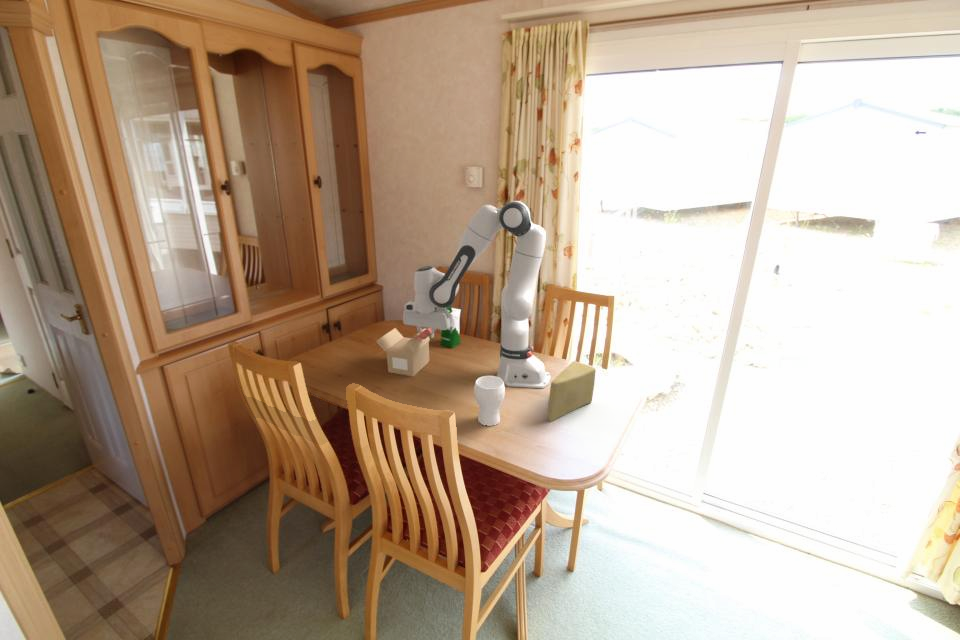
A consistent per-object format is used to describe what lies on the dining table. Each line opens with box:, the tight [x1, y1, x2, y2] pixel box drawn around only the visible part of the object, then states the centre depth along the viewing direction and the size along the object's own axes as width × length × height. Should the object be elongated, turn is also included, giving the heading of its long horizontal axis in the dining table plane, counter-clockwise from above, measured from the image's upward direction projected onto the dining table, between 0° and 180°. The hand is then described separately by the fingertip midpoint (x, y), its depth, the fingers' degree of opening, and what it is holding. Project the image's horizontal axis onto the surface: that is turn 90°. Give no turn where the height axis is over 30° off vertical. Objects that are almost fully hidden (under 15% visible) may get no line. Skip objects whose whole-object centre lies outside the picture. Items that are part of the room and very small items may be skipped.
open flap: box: [375, 327, 405, 353], centre depth 190 cm, size 6×16×1 cm
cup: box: [473, 375, 506, 427], centre depth 150 cm, size 11×11×15 cm
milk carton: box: [440, 305, 462, 349], centre depth 212 cm, size 9×9×20 cm
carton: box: [386, 336, 430, 377], centre depth 190 cm, size 12×16×10 cm
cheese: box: [547, 360, 597, 422], centre depth 157 cm, size 22×10×15 cm, turn 137°
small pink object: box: [408, 327, 432, 354], centre depth 184 cm, size 7×16×7 cm
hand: (426, 336), depth 184 cm, fingers open, 3 cm apart
